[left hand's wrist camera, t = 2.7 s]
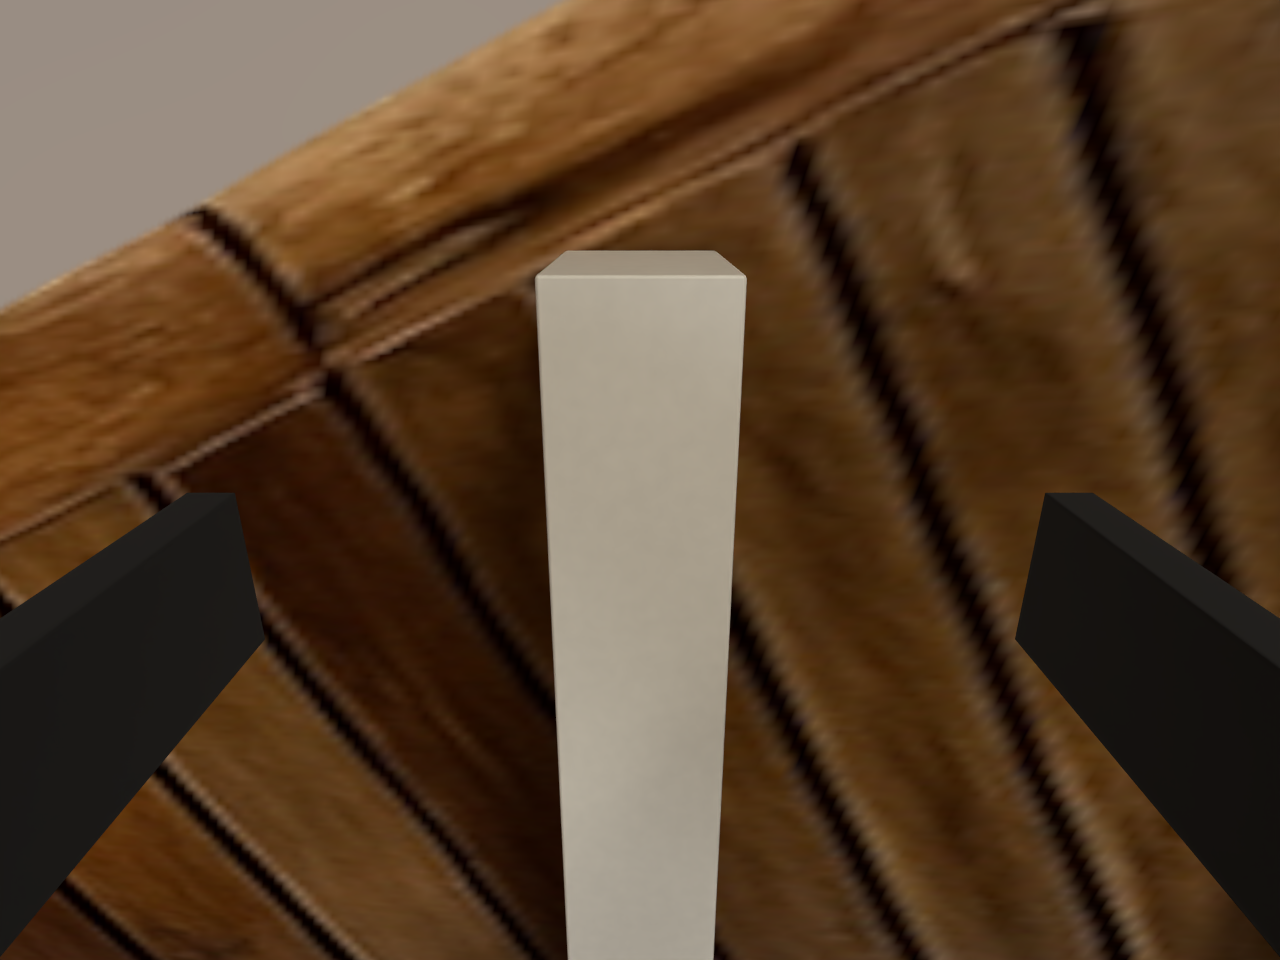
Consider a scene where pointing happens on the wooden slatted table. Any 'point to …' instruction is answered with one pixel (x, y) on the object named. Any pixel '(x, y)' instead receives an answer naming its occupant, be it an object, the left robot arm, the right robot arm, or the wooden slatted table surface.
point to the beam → (640, 584)
